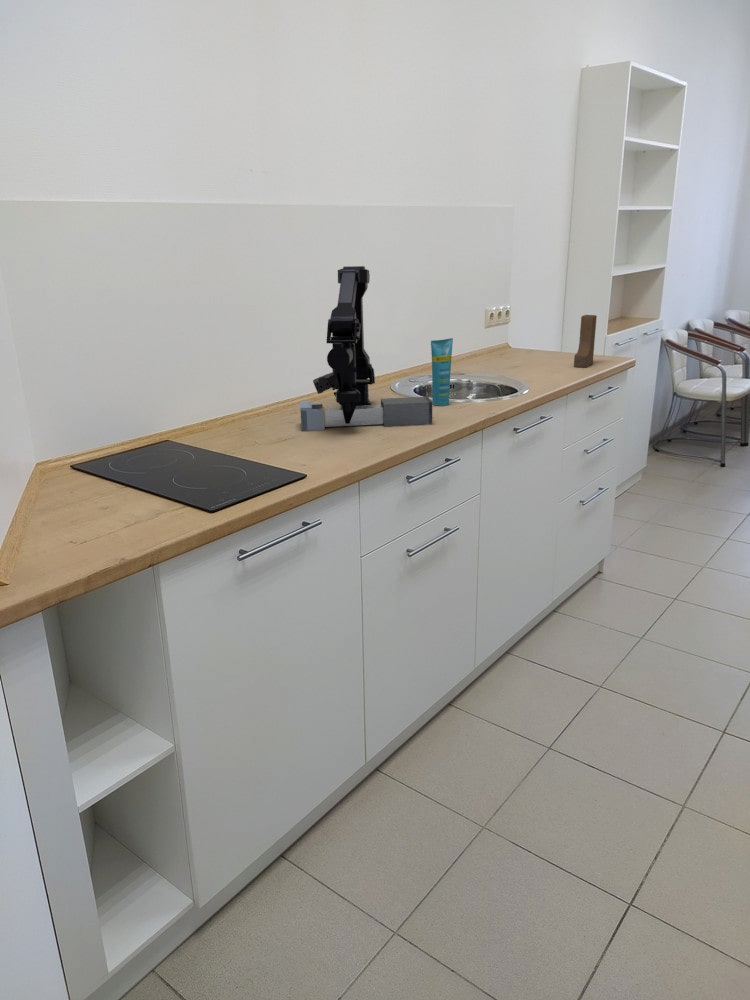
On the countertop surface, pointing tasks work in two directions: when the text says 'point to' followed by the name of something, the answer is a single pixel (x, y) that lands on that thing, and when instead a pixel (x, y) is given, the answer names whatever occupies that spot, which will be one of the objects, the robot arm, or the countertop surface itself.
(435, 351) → the tube
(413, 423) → the sleeve
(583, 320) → the wooden block
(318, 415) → the blue-grey u-shaped block
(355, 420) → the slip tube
